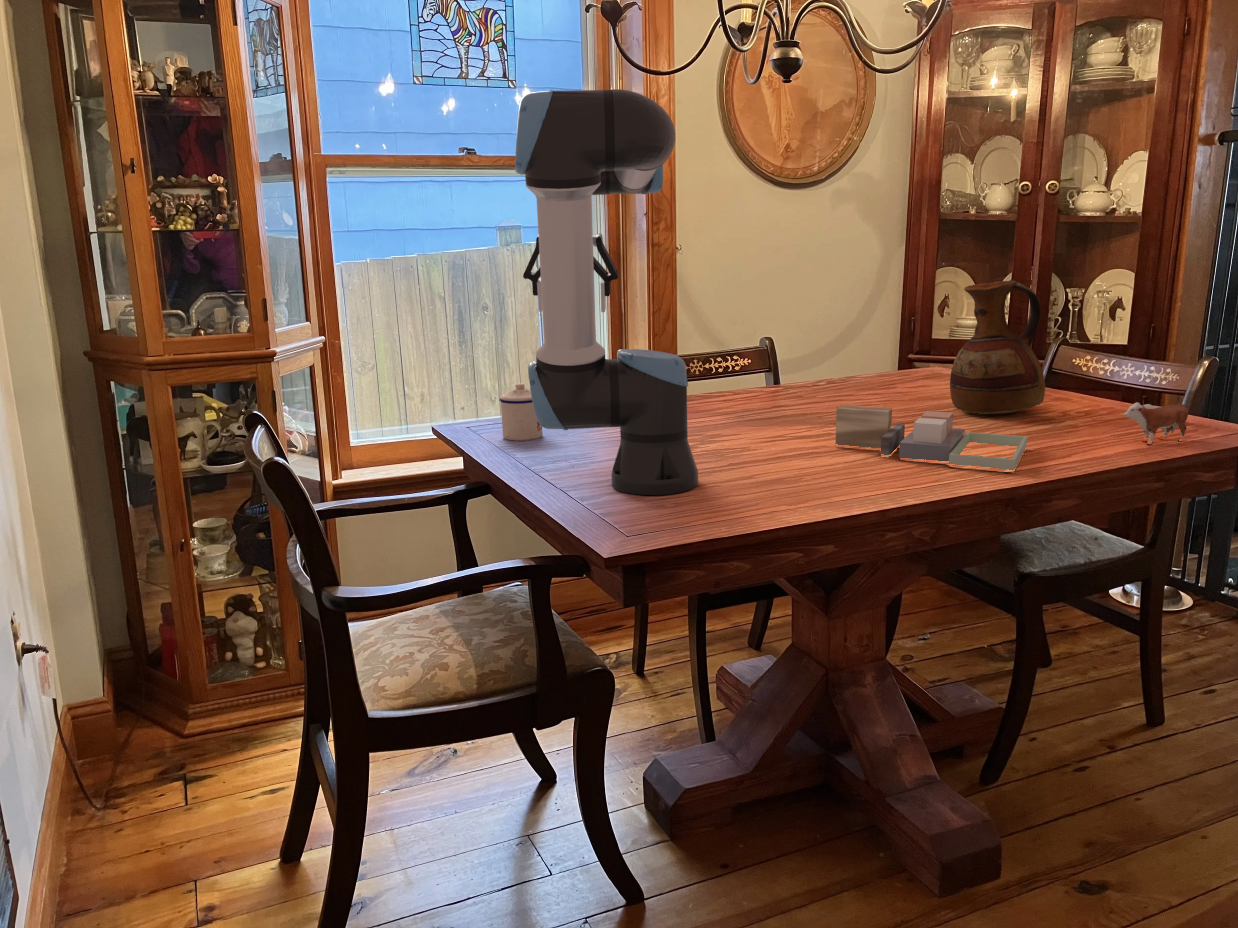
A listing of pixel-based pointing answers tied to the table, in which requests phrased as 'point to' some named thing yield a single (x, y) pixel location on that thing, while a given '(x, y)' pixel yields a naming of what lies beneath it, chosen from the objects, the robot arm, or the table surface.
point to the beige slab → (868, 428)
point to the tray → (988, 461)
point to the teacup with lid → (519, 415)
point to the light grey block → (929, 430)
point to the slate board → (930, 447)
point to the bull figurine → (1158, 418)
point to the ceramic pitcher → (997, 357)
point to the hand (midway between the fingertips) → (572, 309)
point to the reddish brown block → (941, 415)
